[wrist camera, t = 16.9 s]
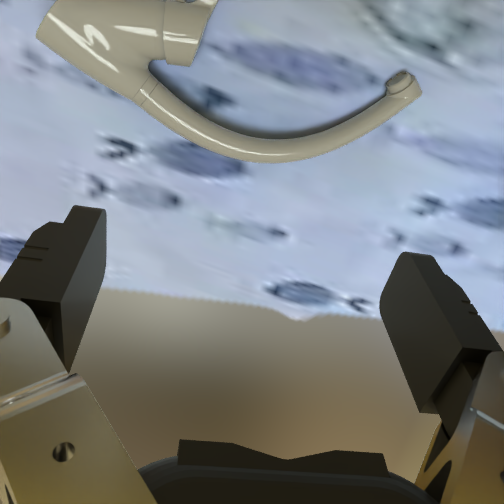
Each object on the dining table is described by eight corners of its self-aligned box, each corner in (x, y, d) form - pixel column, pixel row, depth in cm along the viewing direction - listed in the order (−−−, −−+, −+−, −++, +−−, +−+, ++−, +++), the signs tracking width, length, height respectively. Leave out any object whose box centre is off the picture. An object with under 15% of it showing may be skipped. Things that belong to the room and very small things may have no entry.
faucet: (275, -308, 30) (485, 13, 41) (46, 35, 38) (274, 222, 50) (288, -356, 26) (518, 16, 37) (28, 41, 34) (282, 243, 46)
